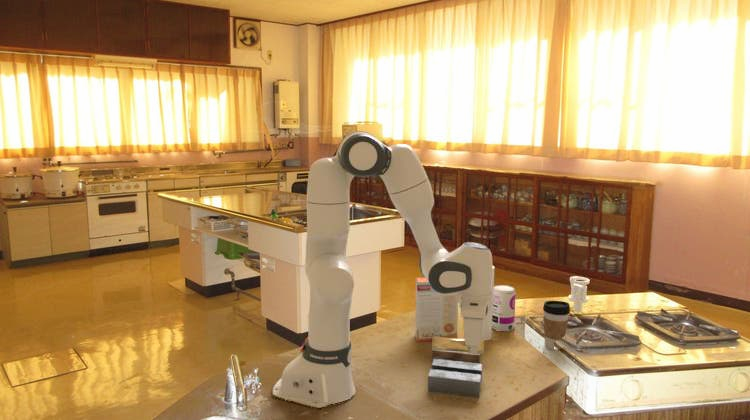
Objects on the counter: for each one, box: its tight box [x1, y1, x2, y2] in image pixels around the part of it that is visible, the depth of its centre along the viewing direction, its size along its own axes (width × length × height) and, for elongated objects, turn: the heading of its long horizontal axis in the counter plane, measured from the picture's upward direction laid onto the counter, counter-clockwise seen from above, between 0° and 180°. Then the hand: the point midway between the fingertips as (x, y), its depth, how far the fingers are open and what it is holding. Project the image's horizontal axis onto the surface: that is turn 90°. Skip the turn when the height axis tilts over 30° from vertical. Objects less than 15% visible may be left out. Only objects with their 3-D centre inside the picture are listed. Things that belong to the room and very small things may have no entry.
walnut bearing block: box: [430, 349, 482, 369], centre depth 166 cm, size 14×10×6 cm
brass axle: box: [431, 337, 485, 355], centre depth 151 cm, size 14×4×4 cm, turn 76°
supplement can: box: [492, 284, 517, 332], centre depth 194 cm, size 8×8×15 cm
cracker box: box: [414, 277, 459, 342], centre depth 185 cm, size 14×6×21 cm, turn 92°
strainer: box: [568, 275, 590, 312], centre depth 210 cm, size 7×7×15 cm
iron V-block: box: [427, 359, 483, 398], centre depth 153 cm, size 14×11×4 cm
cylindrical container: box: [481, 265, 495, 342], centre depth 186 cm, size 7×7×25 cm
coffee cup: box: [542, 300, 571, 351], centre depth 179 cm, size 8×8×15 cm
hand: (474, 349), depth 151 cm, fingers closed on brass axle, 4 cm apart
